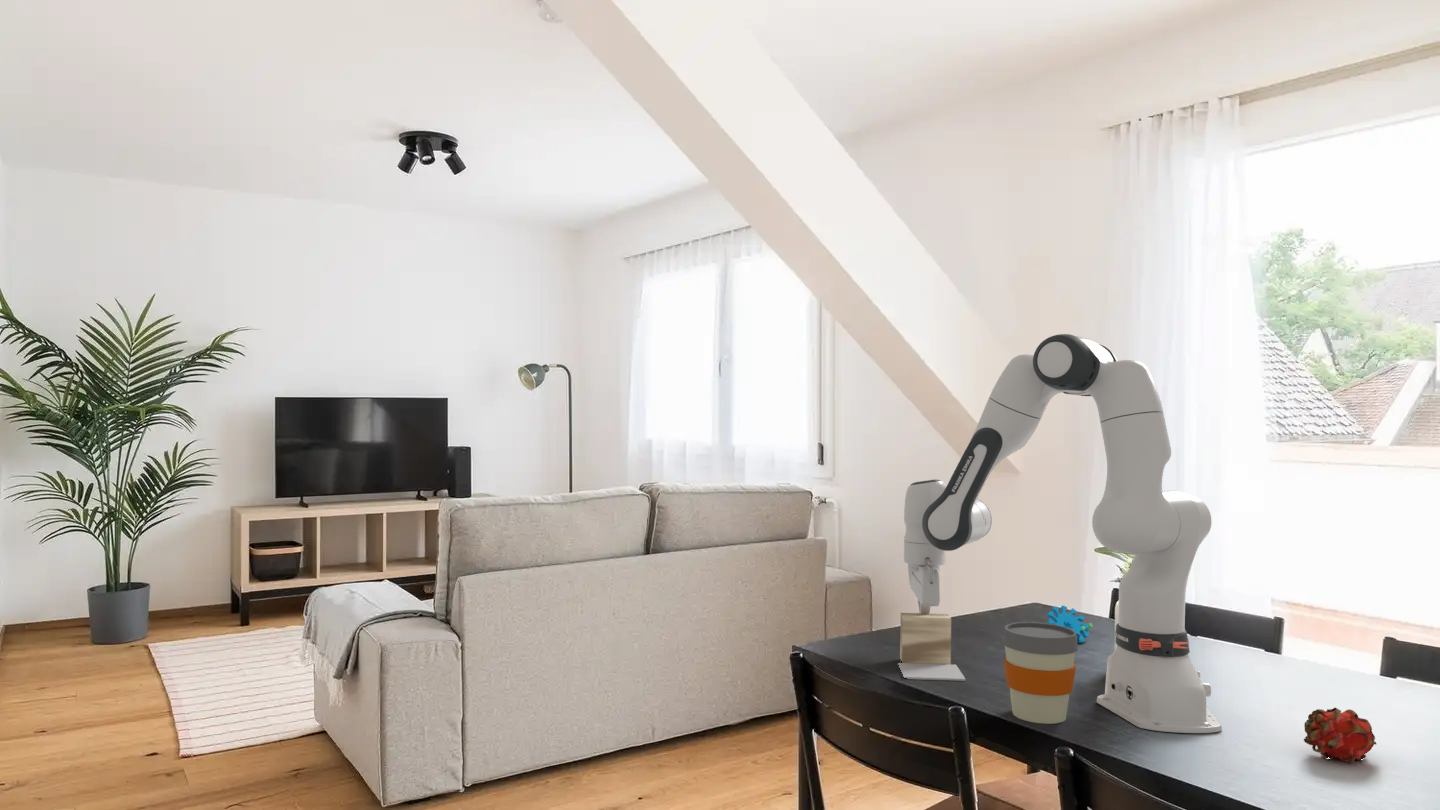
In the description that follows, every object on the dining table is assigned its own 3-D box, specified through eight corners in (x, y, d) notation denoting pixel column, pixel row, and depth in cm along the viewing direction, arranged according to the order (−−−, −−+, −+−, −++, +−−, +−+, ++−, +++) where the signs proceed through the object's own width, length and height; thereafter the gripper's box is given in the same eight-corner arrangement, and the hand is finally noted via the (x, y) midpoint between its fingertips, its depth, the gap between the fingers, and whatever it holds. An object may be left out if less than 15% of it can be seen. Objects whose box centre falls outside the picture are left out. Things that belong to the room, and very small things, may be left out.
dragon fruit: (1298, 768, 148) (1363, 775, 151) (1340, 752, 142) (1407, 759, 144) (1280, 714, 153) (1343, 721, 156) (1319, 696, 147) (1384, 704, 149)
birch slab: (950, 666, 199) (951, 618, 199) (902, 664, 200) (902, 616, 200) (947, 661, 203) (948, 614, 203) (900, 659, 204) (900, 612, 204)
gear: (1054, 638, 218) (1045, 601, 225) (1043, 651, 222) (1034, 615, 229) (1100, 644, 219) (1089, 607, 226) (1088, 657, 223) (1078, 620, 230)
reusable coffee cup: (995, 719, 165) (996, 632, 165) (1009, 700, 176) (1010, 619, 176) (1071, 731, 159) (1072, 642, 159) (1081, 711, 170) (1082, 627, 170)
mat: (965, 680, 188) (965, 678, 188) (904, 678, 189) (904, 676, 189) (955, 666, 199) (955, 664, 199) (897, 664, 200) (897, 662, 200)
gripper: (947, 562, 195) (947, 630, 195) (932, 548, 215) (931, 609, 215) (916, 562, 195) (915, 629, 195) (904, 547, 216) (903, 609, 216)
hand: (924, 619), depth 205 cm, fingers closed
